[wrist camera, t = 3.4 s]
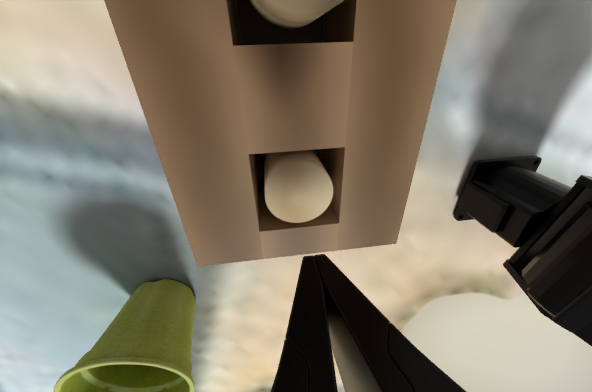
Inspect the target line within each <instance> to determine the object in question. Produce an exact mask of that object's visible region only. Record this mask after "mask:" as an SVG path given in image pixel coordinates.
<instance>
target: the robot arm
mask: <svg viewBox="0 0 592 392" xmlns="http://www.w3.org/2000/svg"><path fill="white" fill-rule="evenodd" d="M540 163H541V158H540V157H537V156H527V157H515V158H503V159H491V160H480V161H477V162H475V163H474V164H473V166H472V169H471V171H470V174H469V177H468V179H467V182H466V184H465V187H464V190H463V192H462V195H461V197H460V200H459V203H458V205H457V208H456V210H455V213H454V218H455V219H456V220H458V221H462V220H471V219H475V220H476V221H478V222H479V223H480V224H482V225H483V226H484V227H486V228H487V229H488V230H489V231H491V232H495V233H496V234H497V235H498V236H500V237H501V238H502V239H504V240H505V241H506V242H508V243H509V244H510V245H512V246H513V247H515V248H516V247H519V249H518V250H517V251H516V252H515V253H514V254H513V255H512V256H511V258H510V259H509V260H506V261H505V262H504V263H503V266H504V267H505V268H506V269H507V271H508V272H509V273H510V275H511V276H512V277H513V278H514V280H515V281H516V282H517V283H518V285H519V286H520V287H521V288H522V290H523V291H524V292H525V293H526V295H527V296H528V297H529V298H530V300H531V301H532V302H533V304H534V305H535V306H536V307H537V308H538V310H539V311H540V312H541V313H542V314H543V315H544V316H546V317H548V318H550V319H551V320H552V321H554V322H555V323H557V324H558V325H560V326H561V327H563V328H565V329H566V330H568V331H570V332H572V333H574V334H575V335H577V336H578V337H580V338H581V339H582V340H584V341H585V342H587V343H588V344H589V345H591V346H592V177H589V176H584V175H581V176H580V177H579V178H578V179H577V180H576V181H575V182H577V183H576V184H575V185H574V186H573V187H572V188H571V187H569V186H567V185H564V184H562V183H560V182H557V181H555V180H553V179H550V178H548V177H546V176H543V175H541V174H539V173H536V170H537V168H538V166H539V165H540ZM331 347H332V348H331ZM332 350H333V353H334V357H335V360H336V363H337V366H338V369H339V373H340V376H341V379H342V382H343V386H344V389H345V392H466V391H465V390H464V389H462V388H461V387H460V386H459V385H458V384H457V383H456V382H454V381H453V380H452V379H451V378H450V377H449V376H448V375H446V374H445V373H444V372H443V371H442V370H440V369H439V368H438V367H437V366H436V365H435V364H434V363H433V362H431V361H430V360H429V359H428V358H427V357H426V356H425V355H424V354H423V353H421V352H420V351H419V350H418V349H417V348H416V347H415V346H414V345H413V344H412V343H411V342H410V341H409V340H408V339H407V338H406V337H405V336H404V335H403V334H402V333H401V332H400V331H399V330H398V329H397V328H396V327H395V326H394V325H393V324H392V323H390V321H389V320H388V319H387V318H386V317H385V316H384V315H383V314H382V313H381V312H380V311H379V310H378V309H377V308H376V307H375V306H374V305H373V304H372V303H371V302H370V301H369V300H368V298H367V297H366V296H365V295H364V294H363V293H362V292H361V291H360V290H359V289H358V288H357V287H356V286H355V285H354V284H353V283H352V282H351V281H350V280H349V279H348V278H347V277H346V276H345V275H344V274H343V273H342V272H341V271H340V270H339V269H338V268H337V266H336V265H335V264H334V263H333V262H332V261H331V260H330V259H329V258H328V257H327V256H326V255H324V254H320V255H315V256H304V257H303V260H302V265H301V269H300V274H299V278H298V283H297V287H296V292H295V297H294V301H293V306H292V310H291V315H290V319H289V324H288V328H287V333H286V340H285V341H284V346H283V351H282V355H281V359H280V363H279V367H278V370H277V374H276V377H275V380H274V383H273V386H272V389H271V392H338V391H337V384H336V377H335V369H334V362H333V355H332Z"/></svg>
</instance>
